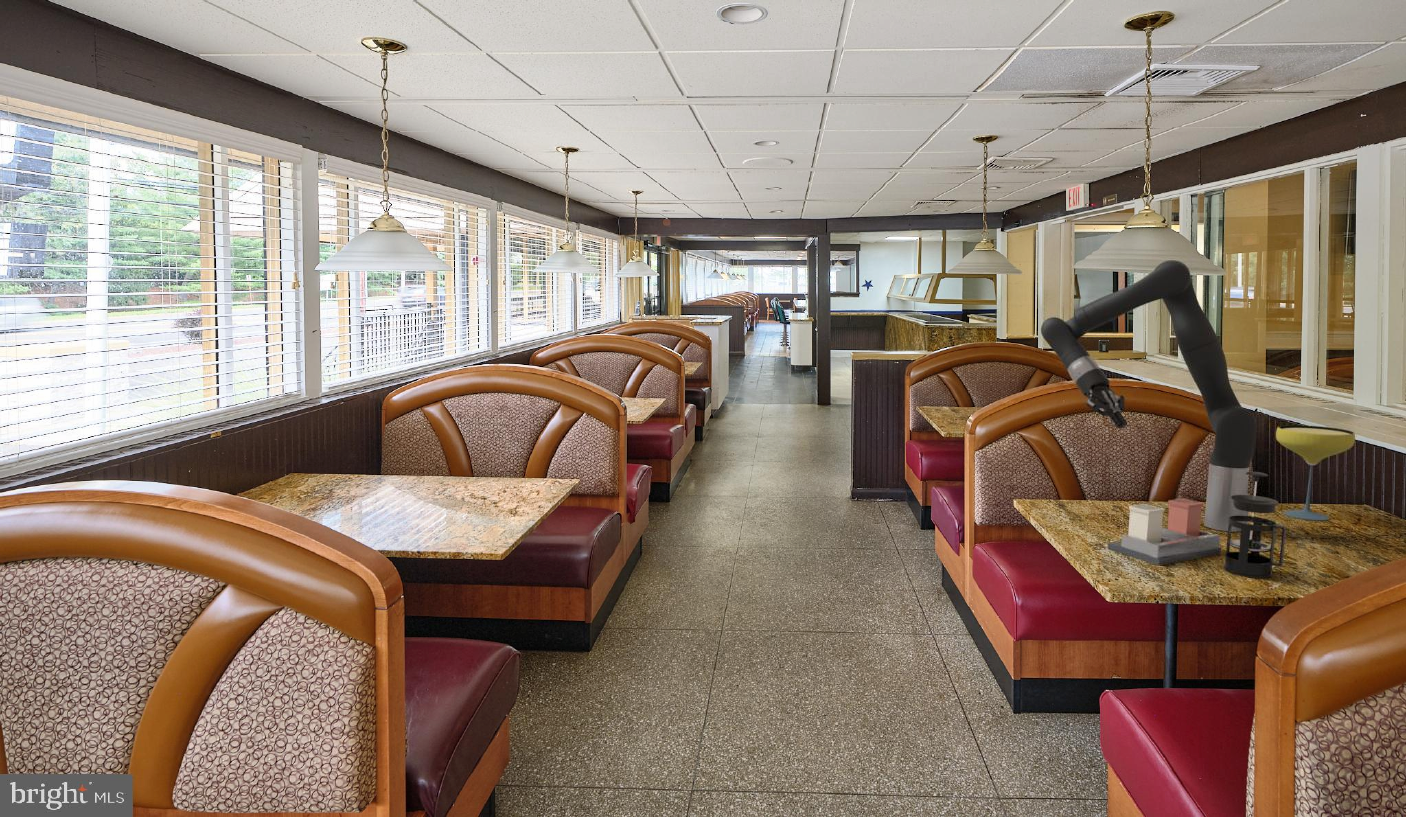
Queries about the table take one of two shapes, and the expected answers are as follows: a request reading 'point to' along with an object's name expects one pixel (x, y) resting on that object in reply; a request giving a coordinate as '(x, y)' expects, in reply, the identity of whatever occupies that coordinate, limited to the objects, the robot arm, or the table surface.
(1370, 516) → the table surface
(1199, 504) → the pink boxy piece
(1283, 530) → the french press
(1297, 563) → the table surface
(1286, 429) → the cocktail glass
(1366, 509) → the table surface
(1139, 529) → the white tall block
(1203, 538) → the dark grey tray
